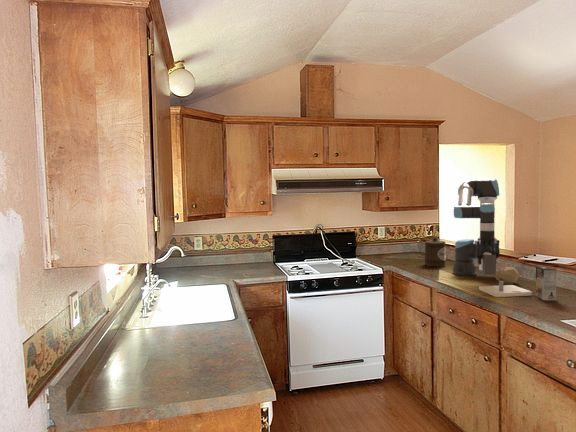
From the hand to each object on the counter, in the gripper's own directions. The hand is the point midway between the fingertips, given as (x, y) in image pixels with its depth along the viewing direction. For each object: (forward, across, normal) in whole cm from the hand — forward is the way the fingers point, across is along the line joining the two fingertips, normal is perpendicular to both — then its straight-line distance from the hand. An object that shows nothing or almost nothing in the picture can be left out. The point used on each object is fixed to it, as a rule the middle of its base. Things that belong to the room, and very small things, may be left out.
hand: (487, 269), depth 231 cm
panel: (+10, +3, -13) cm, 17 cm away
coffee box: (+10, +16, -27) cm, 33 cm away
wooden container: (+13, +2, +73) cm, 74 cm away
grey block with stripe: (+2, 0, 0) cm, 2 cm away
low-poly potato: (+11, +17, +7) cm, 21 cm away
